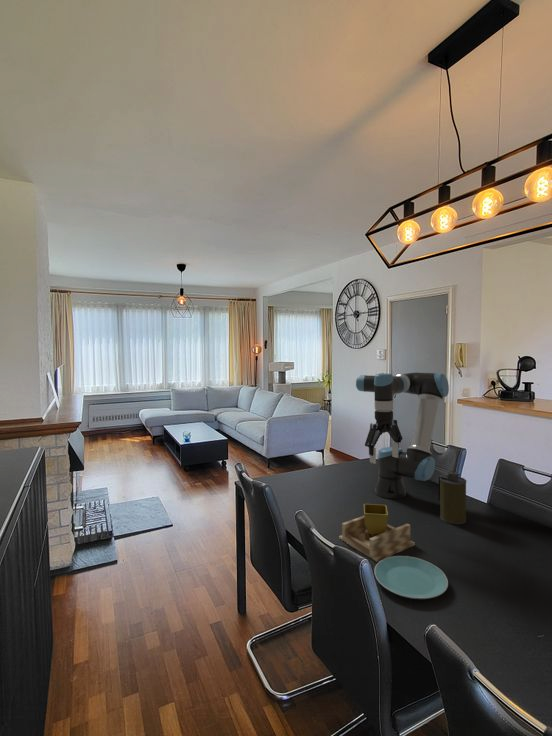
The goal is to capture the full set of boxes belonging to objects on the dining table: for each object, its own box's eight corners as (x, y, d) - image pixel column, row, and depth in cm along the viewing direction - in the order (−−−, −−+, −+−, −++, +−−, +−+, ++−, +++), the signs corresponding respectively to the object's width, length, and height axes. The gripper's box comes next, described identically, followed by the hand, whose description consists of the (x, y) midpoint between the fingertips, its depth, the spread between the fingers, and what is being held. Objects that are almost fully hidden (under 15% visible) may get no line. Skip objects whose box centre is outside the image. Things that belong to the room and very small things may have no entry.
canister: (469, 518, 167) (469, 472, 165) (461, 526, 159) (461, 479, 158) (443, 511, 174) (443, 467, 173) (435, 519, 166) (434, 473, 165)
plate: (441, 616, 108) (441, 606, 108) (364, 591, 120) (364, 582, 120) (453, 575, 127) (453, 567, 127) (385, 557, 139) (385, 549, 139)
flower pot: (388, 538, 144) (388, 514, 143) (364, 536, 145) (364, 513, 145) (386, 527, 152) (386, 504, 152) (363, 525, 154) (363, 503, 153)
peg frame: (375, 524, 163) (374, 508, 162) (414, 545, 146) (414, 527, 146) (338, 538, 152) (338, 521, 152) (377, 562, 135) (376, 542, 135)
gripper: (396, 406, 173) (397, 452, 174) (355, 412, 160) (356, 463, 161) (410, 408, 167) (411, 456, 168) (369, 415, 153) (369, 467, 155)
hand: (384, 459), depth 164 cm, fingers open, 13 cm apart
